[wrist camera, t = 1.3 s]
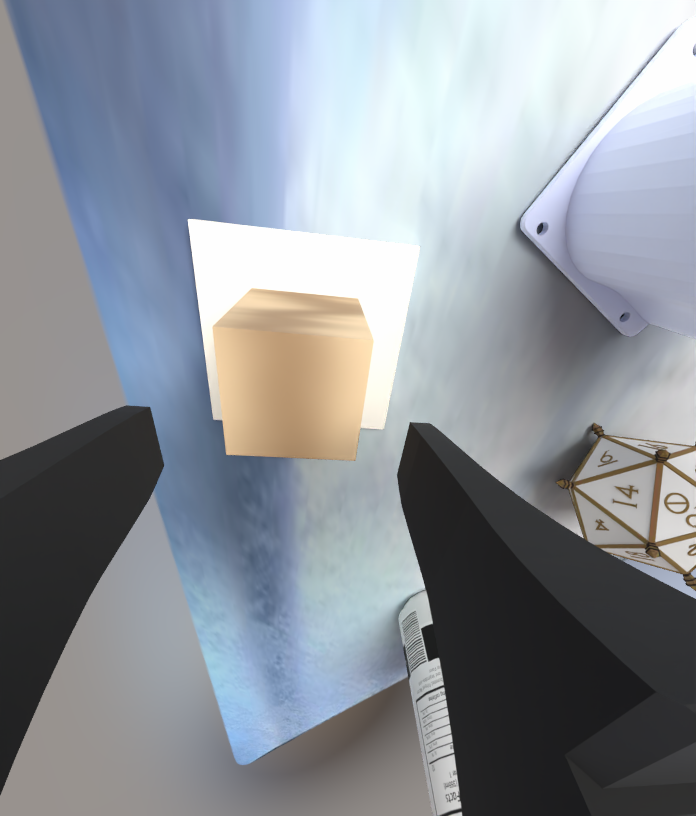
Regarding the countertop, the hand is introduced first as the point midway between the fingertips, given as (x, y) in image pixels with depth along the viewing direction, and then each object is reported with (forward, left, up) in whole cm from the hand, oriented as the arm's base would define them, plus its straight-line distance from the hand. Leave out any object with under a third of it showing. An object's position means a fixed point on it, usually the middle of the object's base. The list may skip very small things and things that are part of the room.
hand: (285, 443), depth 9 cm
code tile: (0, 0, -9) cm, 9 cm away
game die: (-21, -4, -9) cm, 23 cm away
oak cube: (0, 0, -8) cm, 8 cm away
